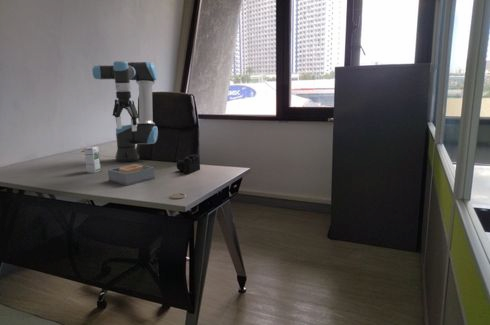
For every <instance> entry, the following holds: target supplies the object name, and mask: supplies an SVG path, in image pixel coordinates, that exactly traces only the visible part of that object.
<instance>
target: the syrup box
mask: <svg viewBox="0 0 490 325" xmlns="http://www.w3.org/2000/svg"><path fill="white" fill-rule="evenodd" d="M83 152H84V159H85V165H86V166H85V167H86V173H89V174H90V173H92V174H95V173H98V172H100V171H102V167H101V158H100V148H99V146H95V145H94V146H87V147H85V148H83Z"/></svg>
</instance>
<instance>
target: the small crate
mask: <svg viewBox="0 0 490 325" xmlns="http://www.w3.org/2000/svg"><path fill="white" fill-rule="evenodd" d="M130 165H131V166H128V165H125V166H126V167H124V166H121V167H122V168H119V167H118V168H119V172H122V173H131V172H135V171H139V170H143V166H139V165H140V164H139V165H133V164H130Z"/></svg>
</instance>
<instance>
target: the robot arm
mask: <svg viewBox="0 0 490 325" xmlns="http://www.w3.org/2000/svg"><path fill="white" fill-rule="evenodd" d="M92 77H93V78H94V79H95V80H114V83H115V84H114V85H115V90H116V92H115V95H116V96H115V98H116V99H114V106H113V109H112V110H113V111H112V116H114V118H115V122H116V128H115V135H116V136H115V137H116V147H117V148H116V149H117V150H116V154H115V156H114V157H115V158H114V159H115V161H116V162H134V161H138V160H139V159H140V155H139V152H138V151H137V149H136V148H137V147H136V145H151V144H152V145H153V144H155V143H156V142H157V140H158V136H159V130H158V128H159V127H158V126H157V125H156V123H155V122H154V121H153V120H154V118H153V85H154V84H155V81H157V80H158V72H157V67H156V66H155V64H154V62H151V61H150V62H149V61H144V62H143V61H139V62H135V61H133V62H132V61H130V62H128V61H123V60H121V61H119V60H116V61H113V64H112V65H100V64H99V65H93V67H92ZM131 81H136V82H135V83H136V84H137V85H138V110H137V108H136V106H135V101H134V100H133V99H132V100H130V99H131V98H132V95H131V83H130V82H131ZM124 109H125V111H127V112H128V114H129V116H130V124H124V125H122V118H121V114H122V111H123V110H124ZM137 119H138V122H137Z"/></svg>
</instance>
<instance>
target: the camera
mask: <svg viewBox="0 0 490 325" xmlns="http://www.w3.org/2000/svg"><path fill="white" fill-rule="evenodd" d="M200 160H201V159H200V155H199V154H190V155H186V156H185V157H184V158H183V159H179V160H178V161H177V162H176V169H177V170H178V171H181V172H182V171H183V174H184V175H190V174H193V173H195V172H198V171H200V170H201V162H200Z"/></svg>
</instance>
